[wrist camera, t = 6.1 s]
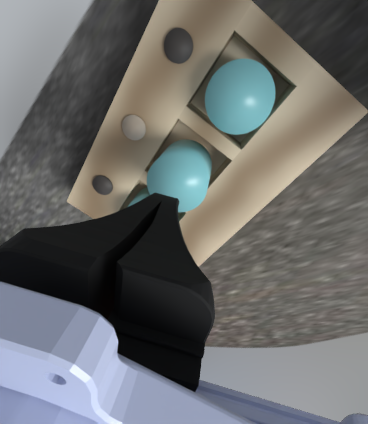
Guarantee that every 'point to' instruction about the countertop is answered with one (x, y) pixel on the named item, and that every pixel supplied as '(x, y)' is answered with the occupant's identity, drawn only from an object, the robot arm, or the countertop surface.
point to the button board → (201, 124)
